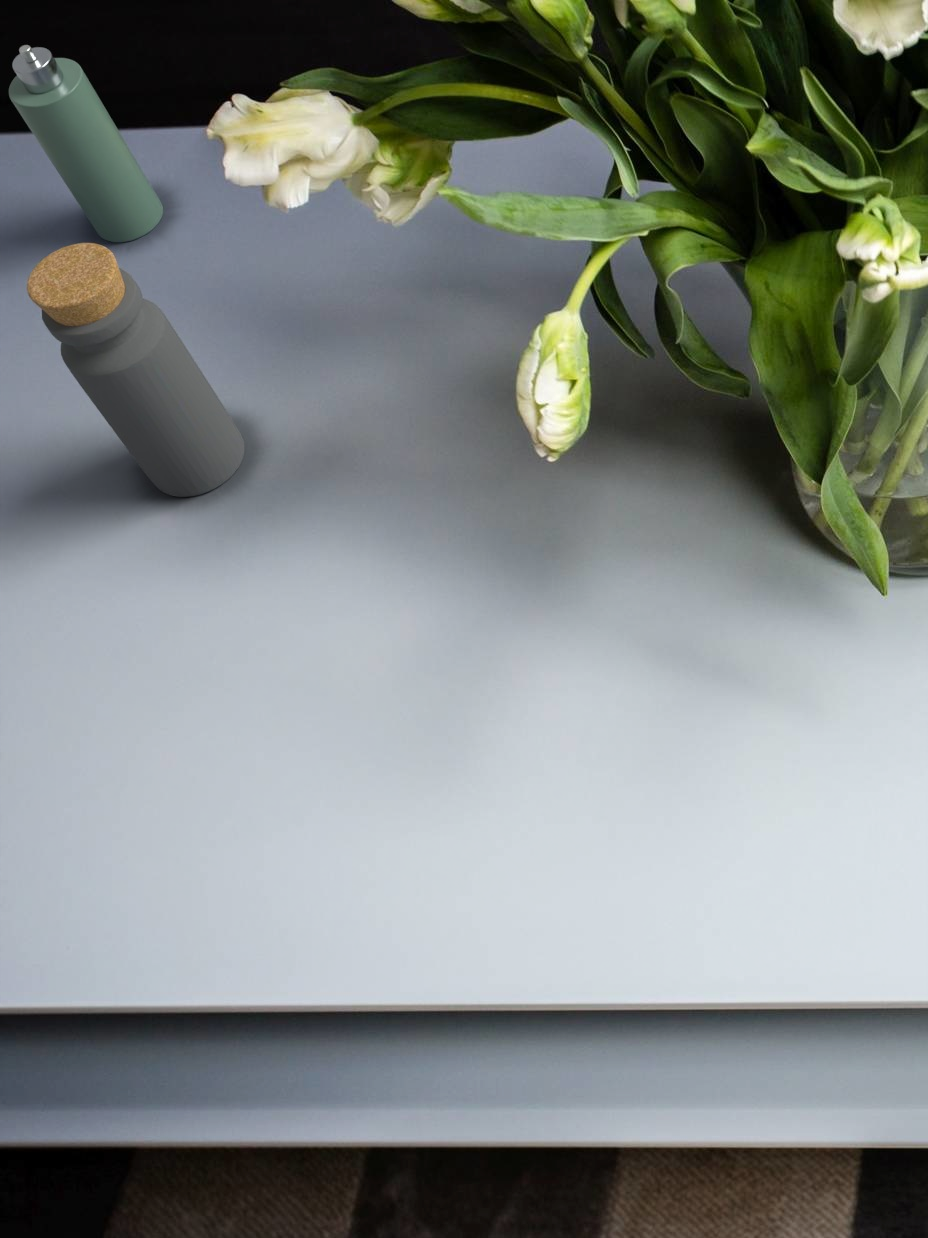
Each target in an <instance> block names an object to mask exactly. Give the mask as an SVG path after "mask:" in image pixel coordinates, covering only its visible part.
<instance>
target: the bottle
mask: <svg viewBox="0 0 928 1238" xmlns="http://www.w3.org/2000/svg"><path fill="white" fill-rule="evenodd" d="M117 261H118V260H117V259H116V257H115V255H114V253H113V252H112V250H110V249H109V248H108V247H106V246H104V245H101V244H98V243H94V242H80V243H73V244H70V245H67V246H63V247H61V248H59V249H57V250H55V251H52V252H50V253H49V254H48V255H47V256H45V257H44V258H43V259H41V260H40V261H39V262H38V263H37V264H36V265H35V266H34V268H33V269H32V270H31V272H30V275H29V276H28V279H27V282H26V292H27V295H28V297H29V298H30V300H31V301H32V303H34V304H35V305H36V306H37V307H39V308H40V309H41V319H42V322H43V324H44V326H45V327H46V329H47V330H48V332H49V333H50V334H51V335H52V337H54V338H55V340H57V341H59V342H60V356H61V358H62V360H63V363H64V364H65V366H66V367H67V369H68V370H69V372H70V373H71V374H72V376H73V377H74V379H75V380H76V382H77V383H78V385H79V386H80V387H81V388H82V390H83V391H84V393H85V394H86V395H87V397H88V398H89V399H90V401H91V402H92V403H93V405H94V406H95V408H96V409H97V410H98V411H99V413H100V414H101V416H102V417H103V418H104V420H105V421H106V422H107V424H108V425H109V427H110V428H111V429H112V431H113V432H114V433H115V435H116V436H117V437H118V438H119V440H120V441H121V443H122V444H123V445H124V447H125V449H126V450H127V451H128V452H129V454H130V455H131V456H132V458H133V459H134V460H135V462H136V463H137V464H138V466H139V467H140V469H141V470H142V471H143V472H144V474H145V475H146V476H147V477H148V479H149V480H150V481H151V483H152V484H153V485H154V486H155V487H156V489H158V490H159V491H160V492H162V493H164V494H167V495H168V496H173V497H180V498H185V497H186V498H187V497H196V496H199V495H203V494H206V493H208V492H211V491H213V490H215V489H216V488H218V487H220V486H222V485H223V484H225V482H227V481H228V480H229V479H231V477H232V476H233V475H234V474H235V473H236V471H237V470H238V469H239V468H240V466H241V464H242V462H243V459H244V456H245V449H246V447H245V441H244V438H243V436H242V434H241V432H240V430H239V428H238V427H237V425H236V423H235V422H234V420H233V419H232V417H231V415H230V414H229V412H228V411H227V409H226V408H225V406H224V404H223V403H222V401H221V399H220V398H219V396H218V395H217V393H216V392H215V390H214V389H213V387H212V385H211V384H210V382H209V381H208V380H207V378H206V376H205V375H204V373H203V372H202V370H201V368H200V367H199V365H198V364H197V362H196V361H195V359H194V358H193V356H192V354H191V353H190V351H189V350H188V349H187V347H186V345H185V343H184V342H183V340H182V339H181V337H180V336H179V334H178V333H177V331H176V330H175V327H174V326H173V325H172V323H171V322H170V321H169V319H168V317H167V315H165V313H164V312H163V310H162V309H161V308H160V307H159V306H158V305H157V304H156V303H154V302H153V301H152V300H149V299H147V298H143V293H142V290H141V288H140V286H139V285H138V283H137V282H136V280H135V279H134V278H133V276H132V274H130V273H128V272H127V271H126V270H125V269H122V268H121V267H119V264H118V262H117Z"/></svg>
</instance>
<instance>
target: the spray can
mask: <svg viewBox="0 0 928 1238" xmlns="http://www.w3.org/2000/svg"><path fill="white" fill-rule="evenodd" d="M18 51H19V54H18V55H16V56H15V58H14V59H13V61H12V65H11V66H12V69H13V71H14V73H15V74H16V76H15V77H14V78H13V80H12V81H11V83H10V85H9V88H8V96H9V99H10V100H11V103H12V104H13V105H14V107H15V108H16V110H17V112H18V113H19V114H20V116H21V117H22V119H23V121H24V122H25V124H26V125H27V127H28V129H29V130H30V132H31V133H32V134H33V136H34V138H35V139H36V141H37V142H38V143H39V145H40V147H41V148H42V150H43V151H44V153H45V154H46V156H47V157H48V159H49V161H50V163H51V164H52V166H53V167H54V169H55V170H56V171H57V173H58V174H59V177H60V178H61V179H62V181H63V182H64V184H65V185H66V187H67V188H68V190H69V192H70V193H71V195H72V196H73V197H74V199H75V201H76V203H77V204H78V206H79V207H80V209H81V210H82V212H83V213H84V215H85V216H86V218H87V219H88V221H89V222H90V224H91V225H92V227H93V228H94V230H95V231H96V233H97V234H98V236H99V237H100V238H102V239H103V240H105V241H108V242H111V243H127V242H130V241H134V240H137V239H139V238H142V237H144V236H145V235H147V234H148V233H150V232H151V231H153V230H154V229H155V227H157V226H158V224H159V223H160V222H161V220H162V218H163V215H164V206H163V203H162V202H161V199H160V198H159V196H158V195H157V192H156V191H155V189H154V188H153V186H152V185H151V183H150V181H149V180H148V178H147V176H146V174H145V173H144V171H143V169H142V168H141V166H140V164H139V163H138V161H137V159H136V158H135V156H134V154H133V152H132V151H131V149H130V147H129V146H128V143H127V142H126V140H125V139H124V137H123V136H122V133H120V130H119V129H118V127H117V126H116V124H115V122H114V120H113V118H111V116H110V114H109V112H108V110H107V109H106V107H105V106H104V104H103V102H102V100H101V99H100V97H99V95H98V93H97V91H96V89H94V86H93V85H92V83H91V81H89V78H88V76H87V75H86V73H85V72H84V70H83V68H82V67H81V65H80V64H79V63H78V62H76V61H75V60H73V59H70V58H66V57H54V55H53V54H52V52H51V51H50V50H49V49H47V48H45V47H41V46H40V47H39V46H35V47H31V45H28V44H24V45H21V46H20V47H19V49H18Z"/></svg>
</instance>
